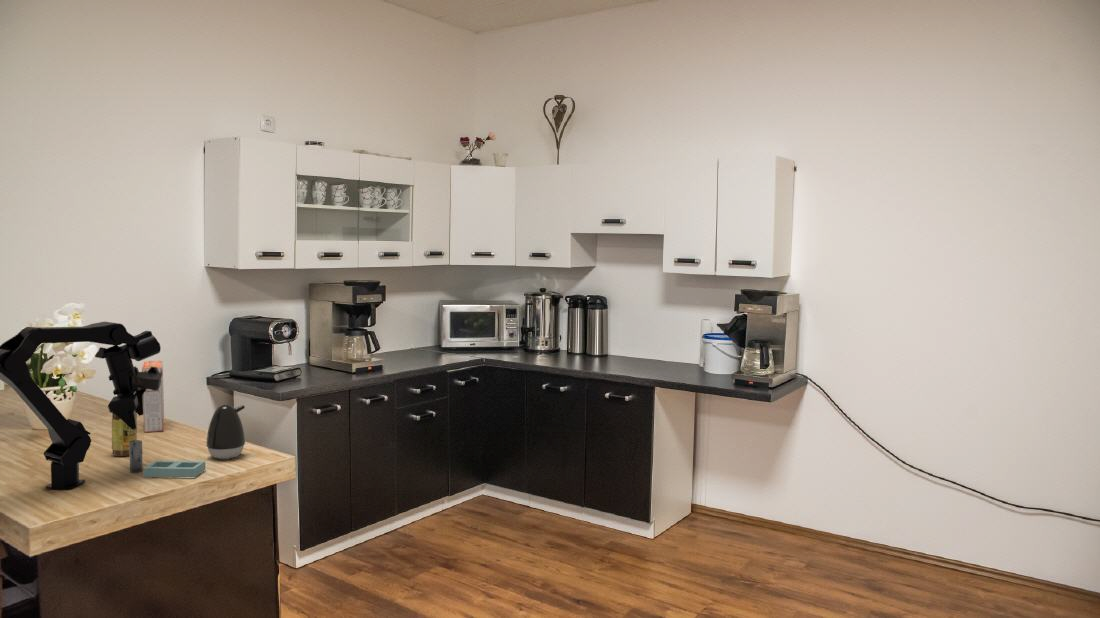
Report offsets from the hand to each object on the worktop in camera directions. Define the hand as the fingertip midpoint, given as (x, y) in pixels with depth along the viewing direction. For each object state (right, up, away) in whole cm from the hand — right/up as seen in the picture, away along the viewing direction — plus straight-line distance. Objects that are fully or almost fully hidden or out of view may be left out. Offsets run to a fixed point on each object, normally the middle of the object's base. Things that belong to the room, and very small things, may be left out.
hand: (137, 421), depth 211 cm
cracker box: (-19, -9, +46) cm, 50 cm away
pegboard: (+11, -13, -3) cm, 18 cm away
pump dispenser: (+18, -12, +14) cm, 26 cm away
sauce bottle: (-11, -11, +14) cm, 21 cm away
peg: (0, -13, -2) cm, 13 cm away
